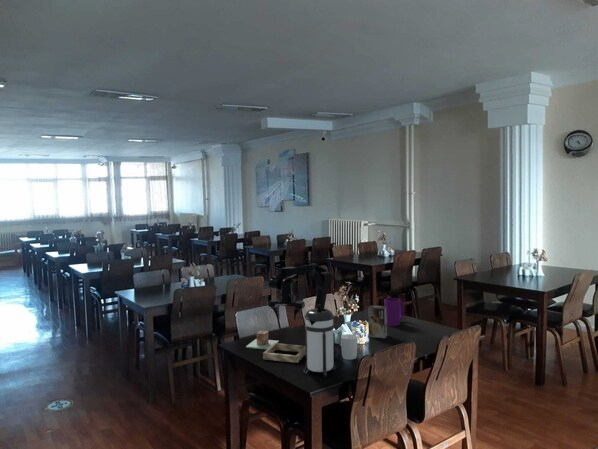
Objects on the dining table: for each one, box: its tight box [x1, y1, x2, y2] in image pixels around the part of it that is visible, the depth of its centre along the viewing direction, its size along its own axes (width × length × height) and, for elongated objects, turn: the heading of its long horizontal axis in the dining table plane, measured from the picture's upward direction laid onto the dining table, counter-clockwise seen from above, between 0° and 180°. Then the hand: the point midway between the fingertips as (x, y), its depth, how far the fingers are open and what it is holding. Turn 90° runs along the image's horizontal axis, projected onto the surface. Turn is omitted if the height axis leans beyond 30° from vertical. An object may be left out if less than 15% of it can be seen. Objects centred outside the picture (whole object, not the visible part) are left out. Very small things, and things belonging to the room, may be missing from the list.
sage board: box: [245, 338, 280, 351], centre depth 245 cm, size 13×13×1 cm
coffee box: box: [367, 305, 388, 339], centre depth 256 cm, size 9×6×16 cm
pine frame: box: [262, 342, 306, 364], centre depth 228 cm, size 17×15×3 cm
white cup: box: [340, 333, 359, 361], centre depth 224 cm, size 8×8×10 cm
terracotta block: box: [256, 330, 269, 345], centre depth 245 cm, size 4×5×6 cm
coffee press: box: [303, 304, 337, 378], centre depth 208 cm, size 17×16×30 cm
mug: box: [383, 297, 405, 327], centre depth 280 cm, size 9×16×15 cm, turn 134°
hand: (286, 320), depth 251 cm, fingers open, 9 cm apart
